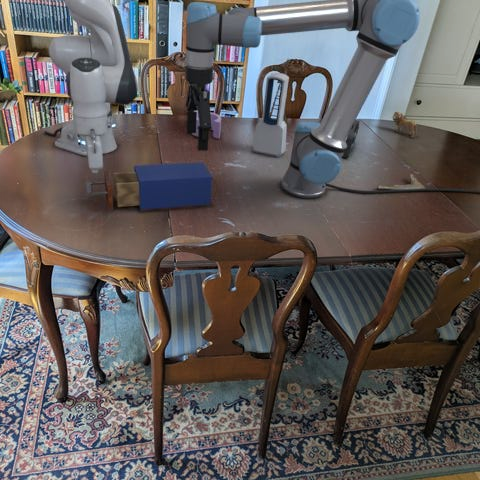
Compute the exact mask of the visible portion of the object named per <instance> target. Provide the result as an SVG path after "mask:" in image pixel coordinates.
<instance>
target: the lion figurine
mask: <svg viewBox="0 0 480 480" xmlns="http://www.w3.org/2000/svg"><path fill="white" fill-rule="evenodd" d="M392 121H393V122H394V123H395V125H396V126H397V129H396V130H395V132H396V133H399V132H400V131H401V130H402V128H405V129H409V135H410V138H414V137H415V136H416V135H417V136H416V137H417V138H419V137H420V136H419V135H418V134H417V129H418V128H417V123H416V122H415V121H414V120H409V119H408V118H406V115H404V114H403V113H402V112H401V111H395V112H394V113H393V116H392ZM400 129H401V130H400ZM398 130H400V131H398ZM411 133H412V134H411ZM412 135H413V136H412Z"/></svg>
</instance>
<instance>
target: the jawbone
mask: <svg viewBox="0 0 480 480" xmlns="http://www.w3.org/2000/svg"><path fill="white" fill-rule="evenodd" d="M409 179H410V184H409V183H408V184H393V186H388V185H386V186H385V185H380V184H378V185H377V186H376V188H377V189H378V190H400V189H426V187H425V185H424V184H422V183H421V182H419V181H418V179H417V177H415V176H414V174H413V173H410V174H409Z"/></svg>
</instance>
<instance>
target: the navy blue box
mask: <svg viewBox="0 0 480 480" xmlns="http://www.w3.org/2000/svg"><path fill="white" fill-rule="evenodd" d="M133 169H134V170H133V172H136V175H137V178H138V181H139V197H140V205H138V209H139V213H147V212H159V211H171V210H172V211H173V210H183V209H196V208H197V209H198V208H209V207H211V202H212V185H213V176H212V174H211V172H210V171H209V169H208V168H207V166H206V165H205V162H203V161H202V162H201V161H200V162H182V163H181V162H180V163H160V164H159V163H158V164H141V165H134V166H133Z"/></svg>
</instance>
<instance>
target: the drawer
mask: <svg viewBox="0 0 480 480" xmlns="http://www.w3.org/2000/svg"><path fill="white" fill-rule="evenodd" d="M103 176H104V177H103V178H104V181H96V182H93V181H92V182H91V181H90V180H87V181H86V182H85V188H86V189H85V190H86V196H87V197H88V198H93V196H100V195H105V198H106V203H107V208H108V209H107V210H108V211H114V204H113V203H114V202H113V190H112V189H113V186H112V181H111V177H110V173H109V170H104V171H103ZM113 183H114V195H115V200H116V204H117V208H123V207H125V208H126V207H135V206H136V207H137V206H138V205H140V197H139V181H138V178H137V175H136V172H134V171H123V172H113ZM99 185H104V189H105V190H104V191H96V192H94V191H93V189H92V188H93V187H92V186H99ZM138 207H139V206H138Z"/></svg>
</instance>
